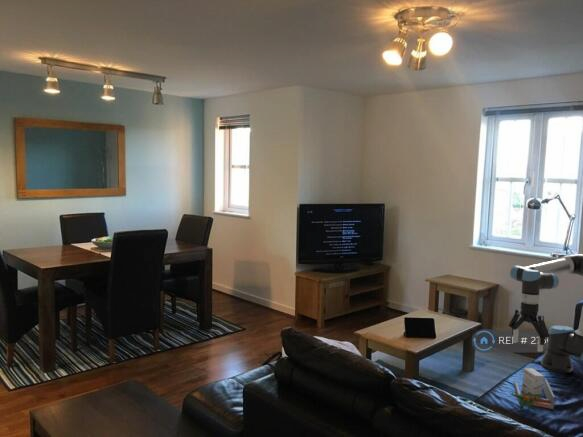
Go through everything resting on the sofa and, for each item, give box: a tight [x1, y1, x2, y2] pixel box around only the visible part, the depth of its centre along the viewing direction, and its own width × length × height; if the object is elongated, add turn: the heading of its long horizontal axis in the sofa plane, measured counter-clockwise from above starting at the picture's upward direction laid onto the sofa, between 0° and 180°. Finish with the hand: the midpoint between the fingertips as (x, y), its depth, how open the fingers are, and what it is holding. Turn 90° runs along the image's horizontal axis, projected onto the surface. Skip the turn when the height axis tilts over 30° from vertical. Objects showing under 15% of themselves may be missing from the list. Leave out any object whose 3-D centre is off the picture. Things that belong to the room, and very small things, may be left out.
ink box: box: [520, 367, 545, 398], centre depth 228 cm, size 8×5×12 cm, turn 10°
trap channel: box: [513, 378, 556, 410], centre depth 227 cm, size 14×19×6 cm
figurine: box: [509, 390, 538, 411], centre depth 216 cm, size 3×12×8 cm, turn 61°
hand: (527, 346), depth 226 cm, fingers open, 13 cm apart
